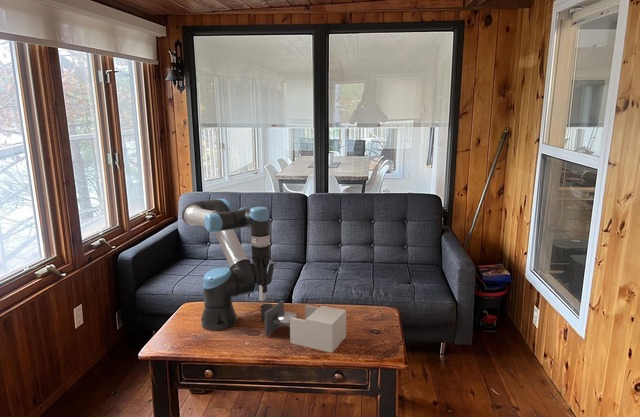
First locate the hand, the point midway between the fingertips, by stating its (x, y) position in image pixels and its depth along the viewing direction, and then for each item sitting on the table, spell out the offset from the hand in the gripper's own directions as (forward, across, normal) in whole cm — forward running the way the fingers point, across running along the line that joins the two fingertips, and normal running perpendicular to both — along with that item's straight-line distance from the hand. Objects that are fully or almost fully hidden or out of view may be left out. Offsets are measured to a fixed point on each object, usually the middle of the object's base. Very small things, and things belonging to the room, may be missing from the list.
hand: (262, 299), depth 184 cm
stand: (+13, -3, +8) cm, 15 cm away
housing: (+13, +26, 0) cm, 29 cm away
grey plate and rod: (+12, +14, 0) cm, 18 cm away
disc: (+7, +11, 0) cm, 13 cm away
